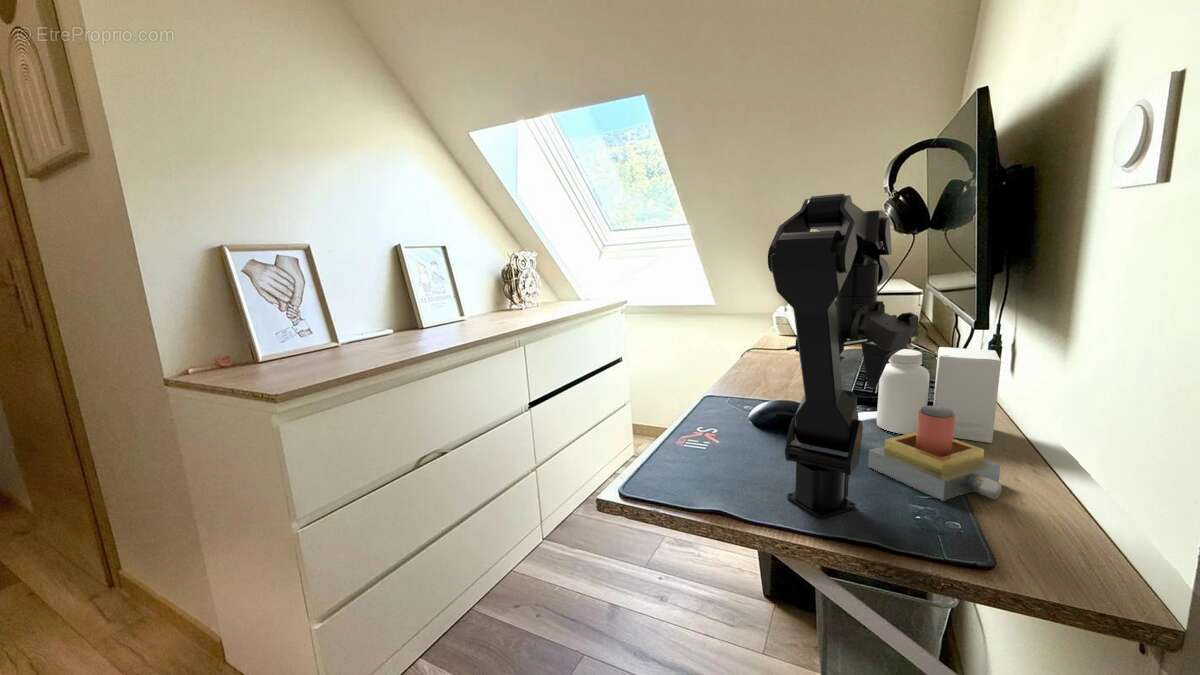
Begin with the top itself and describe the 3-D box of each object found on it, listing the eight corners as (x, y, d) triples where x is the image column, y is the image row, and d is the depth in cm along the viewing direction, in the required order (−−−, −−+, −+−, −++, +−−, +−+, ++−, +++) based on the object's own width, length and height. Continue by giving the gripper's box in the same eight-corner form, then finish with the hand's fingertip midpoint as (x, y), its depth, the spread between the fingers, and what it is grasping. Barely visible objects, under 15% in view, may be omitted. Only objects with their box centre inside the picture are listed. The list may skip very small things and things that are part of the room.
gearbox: (965, 512, 66) (969, 477, 65) (867, 467, 80) (869, 438, 79) (1022, 491, 70) (1026, 458, 69) (920, 452, 84) (922, 424, 83)
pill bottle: (883, 435, 92) (888, 356, 89) (871, 420, 100) (875, 347, 97) (932, 437, 90) (938, 356, 87) (915, 422, 98) (921, 347, 95)
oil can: (936, 465, 73) (940, 417, 72) (908, 453, 77) (912, 408, 76) (957, 459, 75) (962, 412, 73) (929, 447, 79) (933, 403, 77)
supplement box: (993, 444, 86) (1002, 360, 83) (931, 435, 91) (938, 355, 88) (989, 427, 93) (997, 349, 91) (932, 420, 98) (938, 345, 96)
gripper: (855, 305, 66) (849, 416, 69) (949, 293, 73) (941, 395, 76) (794, 298, 77) (791, 395, 79) (881, 288, 83) (876, 378, 86)
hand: (851, 391), depth 80 cm, fingers open, 9 cm apart
